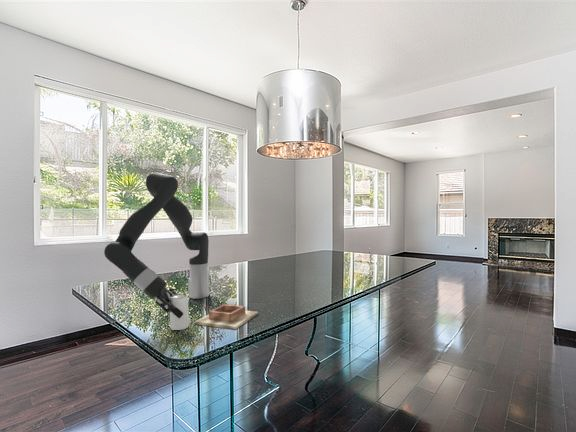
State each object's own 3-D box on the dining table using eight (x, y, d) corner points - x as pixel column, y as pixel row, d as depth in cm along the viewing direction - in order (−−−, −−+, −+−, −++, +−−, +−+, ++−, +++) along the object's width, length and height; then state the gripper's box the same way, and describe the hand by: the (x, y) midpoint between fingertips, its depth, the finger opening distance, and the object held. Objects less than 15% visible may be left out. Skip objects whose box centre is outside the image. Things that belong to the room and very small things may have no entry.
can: (173, 325, 117) (172, 293, 117) (190, 324, 117) (189, 293, 117) (168, 331, 110) (167, 298, 110) (186, 330, 111) (185, 297, 111)
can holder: (194, 324, 118) (194, 313, 118) (221, 310, 134) (221, 301, 134) (235, 329, 111) (235, 318, 111) (257, 314, 128) (257, 304, 128)
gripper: (150, 279, 106) (186, 311, 107) (163, 272, 120) (195, 300, 122) (135, 295, 106) (171, 327, 107) (149, 286, 120) (181, 314, 121)
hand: (183, 313), depth 114 cm, fingers closed on can, 6 cm apart
